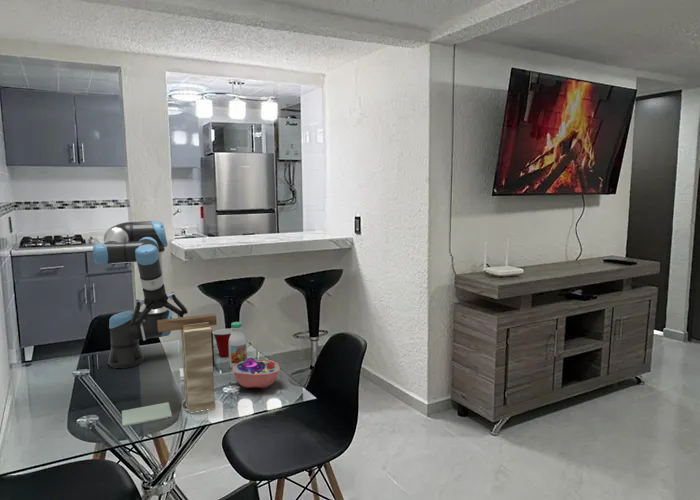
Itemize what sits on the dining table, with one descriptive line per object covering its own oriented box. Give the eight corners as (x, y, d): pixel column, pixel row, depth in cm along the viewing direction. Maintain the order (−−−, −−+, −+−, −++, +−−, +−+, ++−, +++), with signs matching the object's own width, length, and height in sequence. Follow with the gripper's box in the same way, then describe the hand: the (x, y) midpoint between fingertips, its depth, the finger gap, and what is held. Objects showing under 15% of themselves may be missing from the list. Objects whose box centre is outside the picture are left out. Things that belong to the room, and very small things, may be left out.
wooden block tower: (185, 400, 195) (180, 319, 190) (209, 396, 199) (205, 316, 194) (189, 413, 184) (184, 328, 180) (215, 408, 188) (210, 324, 183)
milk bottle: (225, 368, 227) (223, 324, 224) (236, 362, 234) (234, 319, 231) (240, 370, 224) (238, 326, 221) (250, 364, 231) (248, 321, 228)
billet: (157, 329, 183) (157, 320, 183) (214, 322, 192) (214, 313, 191) (158, 332, 180) (157, 322, 180) (216, 324, 189) (216, 315, 188)
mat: (121, 412, 186) (121, 410, 186) (168, 403, 192) (168, 402, 192) (122, 426, 175) (122, 425, 175) (172, 417, 182) (171, 415, 182)
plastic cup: (231, 349, 252) (230, 325, 250) (241, 355, 244) (240, 330, 242) (210, 354, 245) (208, 330, 244) (219, 360, 237) (218, 335, 235)
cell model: (263, 399, 195) (262, 370, 194) (223, 389, 205) (222, 362, 203) (289, 383, 210) (289, 356, 208) (251, 374, 220) (250, 349, 218)
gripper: (116, 298, 180) (128, 347, 190) (189, 283, 190) (197, 331, 199) (116, 288, 187) (127, 336, 196) (186, 274, 196) (194, 321, 205)
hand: (163, 334), depth 198 cm, fingers open, 13 cm apart
